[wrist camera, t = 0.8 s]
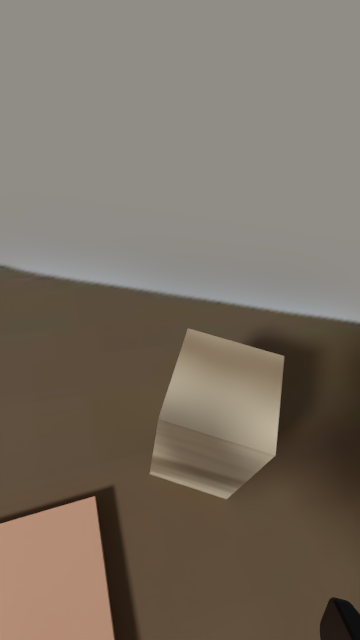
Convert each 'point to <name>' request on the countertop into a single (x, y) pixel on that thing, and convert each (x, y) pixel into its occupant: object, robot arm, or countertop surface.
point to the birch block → (218, 415)
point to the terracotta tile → (55, 576)
